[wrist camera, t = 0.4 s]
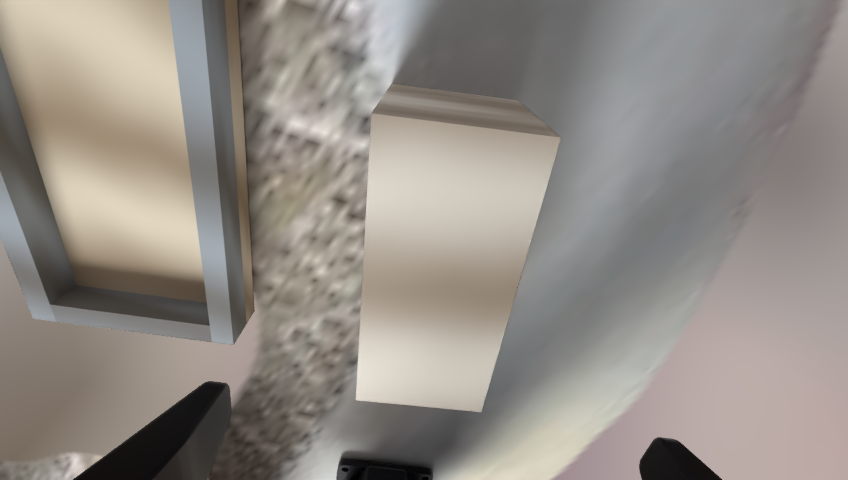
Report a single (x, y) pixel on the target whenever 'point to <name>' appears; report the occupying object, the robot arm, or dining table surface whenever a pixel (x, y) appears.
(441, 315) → the block
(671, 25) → the dining table surface
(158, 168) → the jig board
